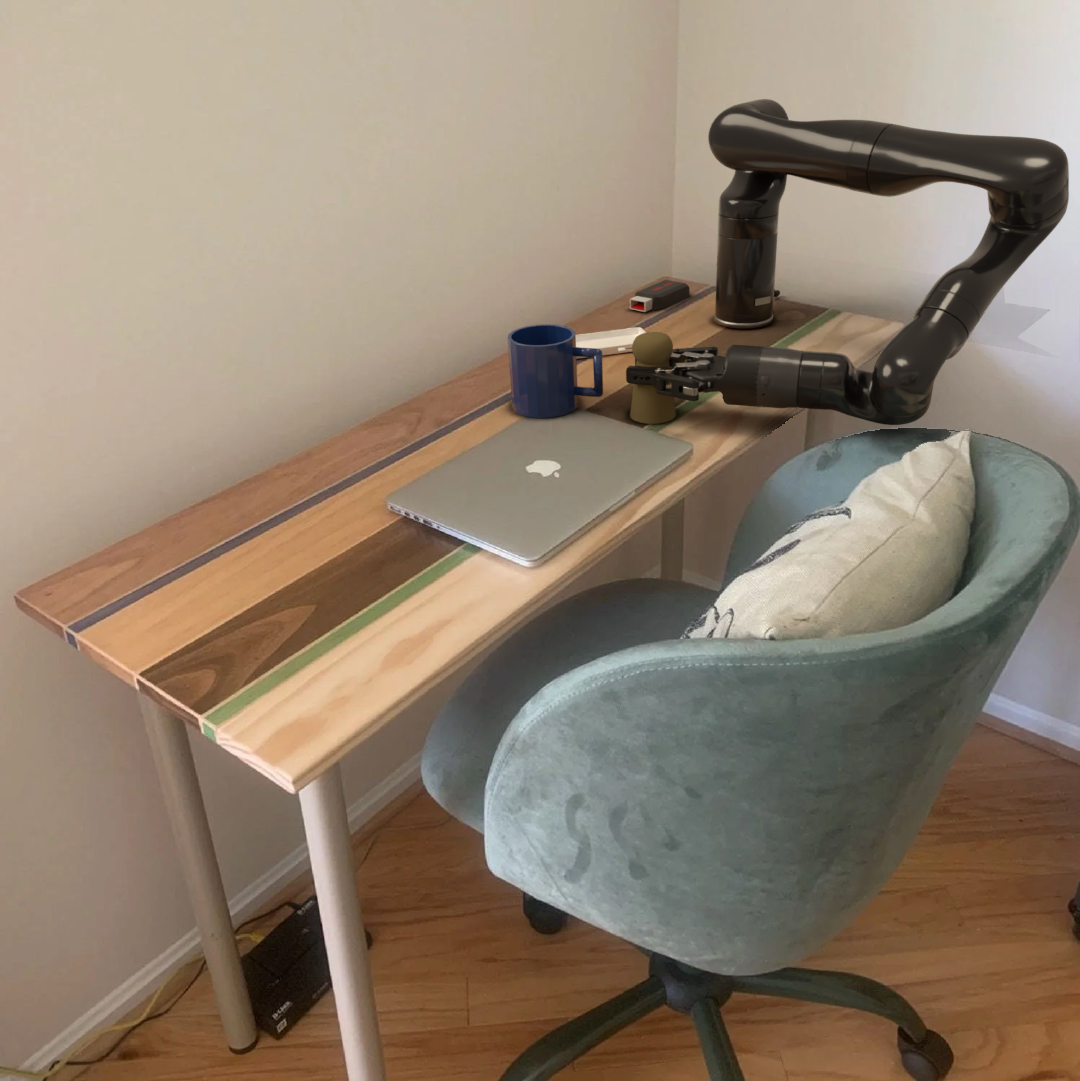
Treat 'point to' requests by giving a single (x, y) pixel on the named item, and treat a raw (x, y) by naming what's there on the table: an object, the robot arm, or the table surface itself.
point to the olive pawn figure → (645, 400)
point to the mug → (548, 370)
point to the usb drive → (659, 296)
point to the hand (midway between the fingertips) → (632, 368)
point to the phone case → (609, 340)
